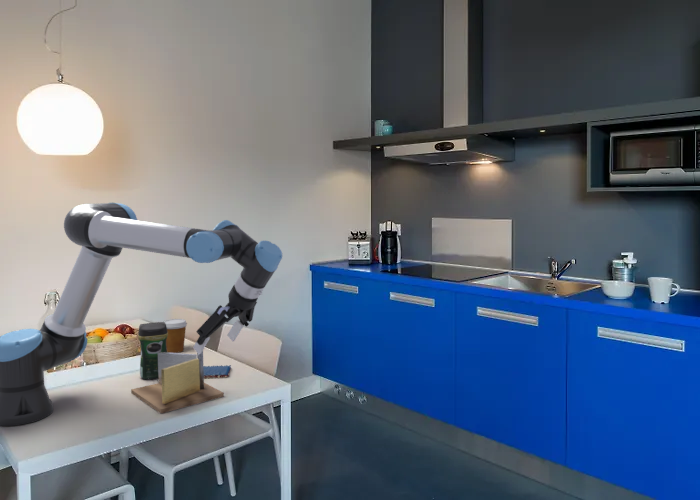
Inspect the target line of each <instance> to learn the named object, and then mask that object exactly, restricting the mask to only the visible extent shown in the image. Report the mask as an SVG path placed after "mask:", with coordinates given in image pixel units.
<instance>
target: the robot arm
mask: <svg viewBox="0 0 700 500" xmlns="http://www.w3.org/2000/svg"><path fill="white" fill-rule="evenodd" d="M63 228H64V233H65V235H66V237H67V238H68V239H69V241H71V242H72V243H74V244H75V245H78V246H79V247H81V249H80V251H79V252H78V256H77V258H76V260H75V262H74V264H73V267H72V269H71V272H70V274H69V277H68V279H67V281H66V284H65V286H64V289H63V291H62V292H61V295H60V298H59V300H58V302H57V305H56V307H55V309H54V312H53V313H51V314H49V315H47V316H46V317H45V319H44V321H43V323H42V325H41V327H40V329H36V328H22V329H18V330H14V331H10V332H7V333H5V334H3V335H0V427H10V426H13V427H15V426H21V425H26V424H31V423H34V422H37V421H40V420H42V419H44V418H45V419H46V417H48V416H50V415H51V414H52V413H53V411H54V409H53V408H54V407H53V406H54V405H53V401H52V399H51V398H50V396H49V394H48V390H47V389H46V386H45V376H44V375H45V372H46V371H48V370H51V369H54V368H57V367H59V366H61V365H62V366H63V365H65V364H67V363H70V362H72V361H74V360H76V359H77V358H79V357H80V356H81V355H83V353H84V352H85V351H86V348H87V345H88V338H87V331H86V330H87V328H86V325H85V324H84V322H85V320H86V317H87V315H88V314H89V312H90V309H91V306H92V304H93V302H94V300H95V297H96V295H97V293H98V291H99V288H100V286H101V284H102V282H103V279H104V277H105V276H106V272H107V271H108V268H109V266H110V264H111V261H112V259H113V258H116V257H119V256H120V254H121V253H122V250H123V249H129V250H136V251H142V252H147V253H148V252H149V253H155V254H162V255H170V256H174V257H181V258H188V259H191V260H193V262H196V263H199V264H209V263H213V262H216V261H219V260H223V259H228V258H231V259H232V260H233V261H234V262H236V263H237V264H238V265H240V266H241V267H242V270H241V271H240V274H239V276H238V277H237V278H236V280H235V282H234V284H233V286H232V287H231V289H230V291H229V292H228V303H227V304H226V305H225V306H222V305H219V306H217V308H216V309H215V311H214V312H213V313H212V314H211V315H210V316H209V317H208V318H207V319H206V320H205V321H204V322H203V323H202V325H200V327H199V328H198V329H197V330H196V334H197V335H199V336H198V338H197V339H196V341H195V344H194V345H193V347H192V348H193V349H194V351H195V352H196V354H197V353H198V354H201V353H202V351H203V352H204V349H205V347H206V346H207V344H208V343H209V341H210V339H211V335H213V334H214V333H215V332H216V331H217V330H218V329H220V328H221V327H222V326H223V325H224V324H225V323H228V322H230V321H231V320H232V319H233V318H235V317H238V319H236V320H235V321H234V324H232V326H231V327H230V330H229V331H228V333H227V335H226V336H227V337H228V338H229V339H230V340H231V341H232V342H235V341H236V339H237V337H238V336H239V335H240V333H241V331H242V329H243V328H244V327H245V328H246V327H248V326H249V324H250V323H251V322H252V321H253V317H254V312H255V308H256V305H257V304H258V300H259V298H260V296H261V295H263V291H264V289H265V288H266V286H267V284H268V283H269V281H270V279H271V278H272V276H273V275H274V274H275V272H276V271H277V269H278V268H279V265H280V263H281V260H283V252H282V249H281V248H280V247H279V246H278V245H277V244H276V243H273V242H271V241H269V240H260V241H259V242H257V241H256V240H255V239H254V238H252V237H251V236H250V235H249V234H247V233H246V232H245V231H244V230H243V229H241V228H240V226H238V225H237V224H235V223H233V222H232V221H230V220H228V219H224V220H222V221H220V222H218V223H217V224H216V225H215V226H214V227H213V229H212V230H209V229H202V228H201V229H200V228H193V227H186V226H179V225H173V224H165V223H160V222H159V223H158V222H154V221H153V222H151V221H146V220H145V221H144V220H138V218H137V215H136V213H135V211H133V209H132V208H131V207H129V206H128V205H127V204H123V203H121V202H120V203H119V202H118V203H117V202H106V203H105V202H103V203H83V204H79V205H78V204H77V205H76V206H74V207H73V208H71V209H70V210H69V211H68V212H67V214H66V215H65V218H64V222H63ZM249 322H250V323H249Z"/></svg>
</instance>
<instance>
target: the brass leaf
mask: <svg viewBox="0 0 700 500" xmlns="http://www.w3.org/2000/svg"><path fill="white" fill-rule="evenodd" d="M161 377H162V403H164V404H166V403H169V402H171V401H174V400H177V399H179V398H182V397H184V396H187V395H190V394H192V393H195V392H197V391H200V380H199V359H197V358H196V359H193V360H189V361H186V362H183V363H180V364H177V365H174V366H170V367H167V368H164V369H161Z"/></svg>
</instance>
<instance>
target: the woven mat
mask: <svg viewBox="0 0 700 500" xmlns="http://www.w3.org/2000/svg"><path fill="white" fill-rule="evenodd" d="M203 366H204V380H206V379H223V378H225V379H226V378H228V377H229V376H230V372H231V370H232V365H227V364H226V365H211V366H210V365H208V366H207V365H203Z"/></svg>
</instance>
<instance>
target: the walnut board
mask: <svg viewBox="0 0 700 500" xmlns="http://www.w3.org/2000/svg"><path fill="white" fill-rule="evenodd" d="M130 392H131V394H132V395H133V396H135V397H136V398H138V399H139V400H140V401H142V402H143V403H144V404H146V405H147V406H149V407H150V408H152V409H153V410H154V411H156V412H158V413H159V414H165V413H169V412H171V411H176V410H178V409H182V408H186V407H190V406H194V405H198V404H202V403H205V402H208V401H212V400H216V399H219V398H223V397H224V396H225V394H224V391H221V390H220V389H217V388H215V387H213V386H212V385H210V384H207V383H206V382H204V389H202V390H200V391H197V392H195V393H192V394H190V395H187V396H184V397H182V398H179V399H177V400H174V401H171V402H169V403H166V404H164V403H162V384H159V382H157V383H153V384H150V385H149V384H148V385H145V386H140V387H136V388H132V389H130Z"/></svg>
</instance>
